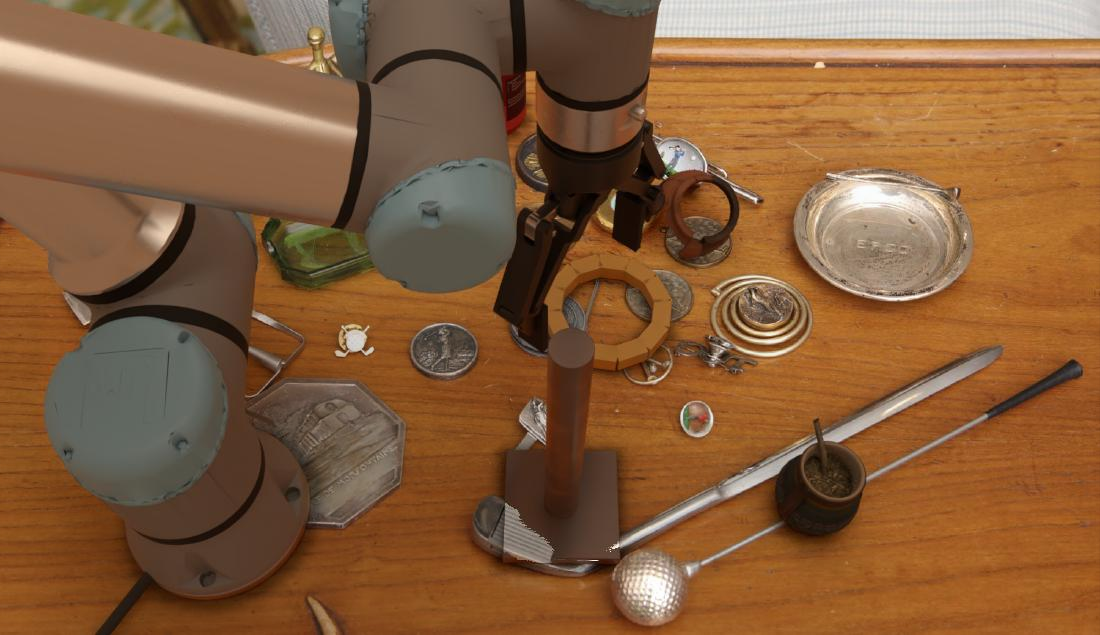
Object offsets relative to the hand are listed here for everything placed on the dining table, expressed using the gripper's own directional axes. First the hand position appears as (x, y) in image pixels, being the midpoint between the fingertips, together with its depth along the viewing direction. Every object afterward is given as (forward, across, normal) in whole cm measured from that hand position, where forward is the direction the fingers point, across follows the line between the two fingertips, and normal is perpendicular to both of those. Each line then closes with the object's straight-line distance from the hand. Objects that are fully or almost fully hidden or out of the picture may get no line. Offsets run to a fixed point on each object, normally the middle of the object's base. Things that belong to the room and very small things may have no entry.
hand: (581, 290), depth 81 cm
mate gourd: (+11, 0, -26) cm, 28 cm away
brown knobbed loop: (+11, +19, +1) cm, 22 cm away
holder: (+10, -14, -9) cm, 19 cm away
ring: (+10, +5, 0) cm, 12 cm away
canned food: (+11, +19, +27) cm, 35 cm away
